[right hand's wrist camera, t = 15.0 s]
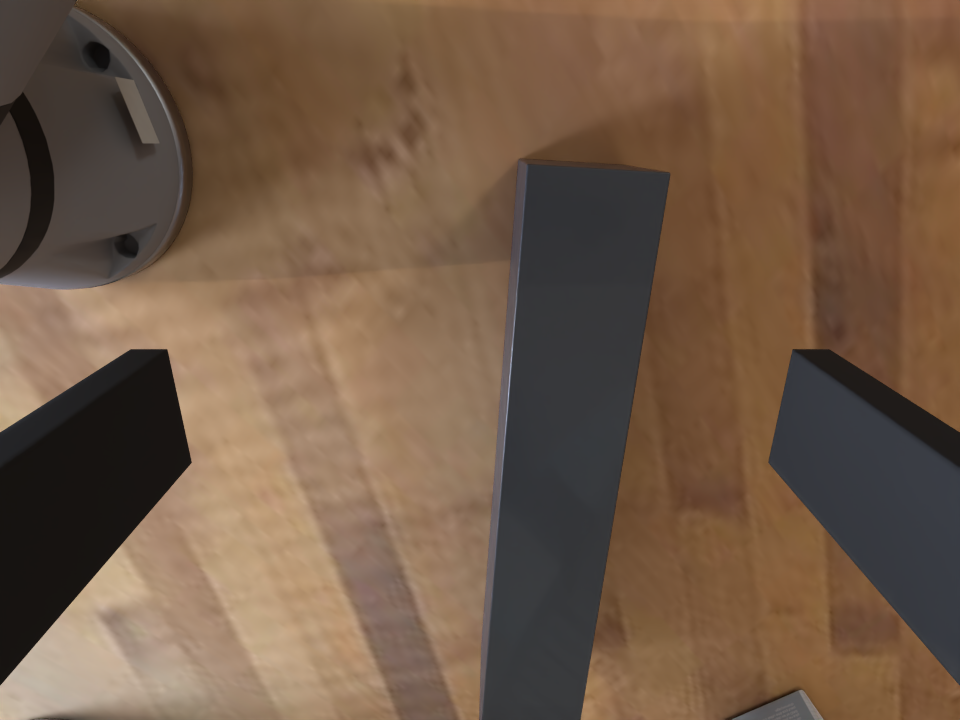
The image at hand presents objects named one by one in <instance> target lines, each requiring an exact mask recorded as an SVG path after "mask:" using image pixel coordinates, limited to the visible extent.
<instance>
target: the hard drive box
mask: <svg viewBox="0 0 960 720" xmlns="http://www.w3.org/2000/svg"><path fill="white" fill-rule="evenodd" d="M732 720H823V718H822V716H821V715H820V714H819V712H818V711H817V709H816V708H815V706H814V705H813V704H812V702H811V701H810V699H809V698H808V696H807V695H806V693H805V692H804V691H803V690H798V691H796V692H794V693H792V694H789V695H787V696H785V697H782V698H780V699H778V700H776V701H773V702H771V703H768V704H766V705H764V706H762V707H759V708H757V709H755V710H752V711H750V712H748V713H745V714H743V715H741V716H739V717H736V718H734V719H732Z"/></svg>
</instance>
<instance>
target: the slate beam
mask: <svg viewBox="0 0 960 720" xmlns="http://www.w3.org/2000/svg"><path fill="white" fill-rule="evenodd" d="M669 180H670V173H669V172H663V171H657V170H651V169H646V168H640V167H634V166H628V165H617V164H601V163H585V162H568V161H552V160H536V159H519V160H518V171H517V184H516V197H515V211H514V224H513V237H512V250H511V263H510V276H509V289H508V302H507V315H506V329H505V342H504V355H503V368H502V381H501V394H500V407H499V420H498V433H497V447H496V460H495V473H494V486H493V499H492V512H491V525H490V538H489V551H488V565H487V578H486V591H485V604H484V617H483V630H482V643H481V674H480V712H479V720H580V719H581V713H582V707H583V701H584V695H585V689H586V683H587V677H588V671H589V665H590V659H591V653H592V647H593V640H594V634H595V628H596V622H597V616H598V610H599V604H600V598H601V592H602V586H603V580H604V574H605V568H606V562H607V556H608V550H609V543H610V537H611V531H612V525H613V519H614V513H615V507H616V501H617V495H618V489H619V483H620V477H621V471H622V465H623V459H624V452H625V446H626V440H627V434H628V428H629V422H630V416H631V410H632V404H633V398H634V392H635V386H636V380H637V374H638V368H639V362H640V355H641V349H642V343H643V337H644V331H645V325H646V319H647V313H648V307H649V301H650V295H651V289H652V283H653V277H654V271H655V265H656V258H657V252H658V246H659V240H660V234H661V228H662V222H663V216H664V210H665V204H666V198H667V192H668V186H669Z"/></svg>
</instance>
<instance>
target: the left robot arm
mask: <svg viewBox="0 0 960 720" xmlns="http://www.w3.org/2000/svg"><path fill="white" fill-rule="evenodd" d="M34 720H68V719H57V718H43V719H34Z"/></svg>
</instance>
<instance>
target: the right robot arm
mask: <svg viewBox="0 0 960 720" xmlns="http://www.w3.org/2000/svg"><path fill="white" fill-rule="evenodd" d="M76 1H77V0H0V284H6V285H17V286H27V287H38V288H49V289H80V288H91V287H97V286H102V285H106V284H109V283H112V282H115V281H118V280H121V279H123V278H126V277H129V276H131V275H133V274H136V273H138V272H140V271H141V270H143V269H145V268H146V267H148V266H150V265H151V264H152V263H153V262H155V261H156V260H157V259H158V258H159V257H160V256H161V255H162V254H164V253H165V251H166V250H167V249H168V248H169V247H170V245H171V244H172V243H173V241H174V240H175V238H176V236H177V235H178V233H179V231H180V229H181V227H182V225H183V223H184V220H185V217H186V214H187V212H188V208H189V203H190V199H191V191H192V174H193V172H192V158H191V152H190V145H189V141H188V137H187V133H186V129H185V126H184V124H183V121H182V118H181V115H180V113H179V110H178V108H177V106H176V104H175V101H174V99H173V98H172V96H171V94H170V92H169V90H168V88H167V87H166V85H165V84H164V82H163V80H162V79H161V77H160V76H159V74H158V73H157V72H156V70H155V69H154V68H153V66H152V65H151V64H150V62H149V61H148V60H147V59H146V58H145V57H144V56H143V54H142V53H141V52H140V51H139V50H138V49H137V48H136V47H135V46H134V45H133V44H132V43H131V42H130V41H129V40H128V39H127V38H126V37H124V36H123V35H122V34H121V33H119V32H118V31H117V30H116V29H114V28H113V27H112V26H110V25H109V24H107V23H106V22H104V21H103V20H101V19H100V18H98V17H96V16H94V15H93V14H91V13H89V12H87V11H85V10H83V9H81V8H79V7H76V6H74V4H75V2H76ZM191 463H192V462H191V457H190V452H189V448H188V443H187V439H186V434H185V429H184V425H183V420H182V415H181V411H180V406H179V401H178V397H177V392H176V387H175V383H174V378H173V374H172V369H171V364H170V360H169V355H168V350H167V349H131V350H129V351H128V352H126V353H124V354H123V355H121V356H120V357H118V358H117V359H115V360H113V361H112V362H110V363H109V364H107V365H106V366H104V367H102V368H101V369H99V370H98V371H96V372H95V373H93V374H91V375H90V376H88V377H87V378H85V379H84V380H82V381H80V382H79V383H77V384H76V385H74V386H73V387H71V388H69V389H68V390H66V391H65V392H63V393H62V394H60V395H58V396H57V397H55V398H54V399H52V400H51V401H49V402H47V403H46V404H44V405H43V406H41V407H40V408H38V409H36V410H35V411H33V412H32V413H30V414H29V415H27V416H25V417H24V418H22V419H21V420H19V421H18V422H16V423H14V424H13V425H11V426H10V427H8V428H7V429H5V430H3V431H2V432H0V685H1V684H2V683H3V682H4V681H5V679H6V678H7V677H8V676H9V675H10V674H11V672H12V671H13V670H14V669H15V668H16V667H17V665H18V664H19V663H20V662H21V661H22V660H23V658H24V657H25V656H26V655H27V654H28V653H29V651H30V650H31V649H32V648H33V647H34V646H35V644H36V643H37V642H38V641H39V640H40V639H41V637H42V636H43V635H44V634H45V633H46V632H47V630H48V629H49V628H50V627H51V626H52V625H53V623H54V622H55V621H56V620H57V619H58V618H59V616H60V615H61V614H62V613H63V612H64V611H65V610H66V608H67V607H68V606H69V605H70V604H71V603H72V601H73V600H74V599H75V598H76V597H77V596H78V594H79V593H80V592H81V591H82V590H83V589H84V587H85V586H86V585H87V584H88V583H89V582H90V580H91V579H92V578H93V577H94V576H95V575H96V573H97V572H98V571H99V570H100V569H101V568H102V566H103V565H104V564H105V563H106V562H107V561H108V559H109V558H110V557H111V556H112V555H113V554H114V552H115V551H116V550H117V549H118V548H119V547H120V545H121V544H122V543H123V542H124V541H125V540H126V538H127V537H128V536H129V535H130V534H131V533H132V532H133V530H134V529H135V528H136V527H137V526H138V525H139V523H140V522H141V521H142V520H143V519H144V518H145V516H146V515H147V514H148V513H149V512H150V511H151V509H152V508H153V507H154V506H155V505H156V504H157V502H158V501H159V500H160V499H161V498H162V497H163V495H164V494H165V493H166V492H167V491H168V490H169V488H170V487H171V486H172V485H173V484H174V483H175V481H176V480H177V479H178V478H179V477H180V476H181V474H182V473H183V472H184V471H185V470H186V469H187V467H188V466H189V465H190V464H191ZM768 463H769V464H770V465H771V466H772V467H773V469H774V470H775V471H776V472H777V473H778V474H779V476H780V477H781V478H782V479H783V480H784V481H785V483H786V484H787V485H788V486H789V487H790V488H791V490H792V491H793V492H794V493H795V494H796V495H797V497H798V498H799V499H800V500H801V501H802V502H803V504H804V505H805V506H806V507H807V508H808V509H809V511H810V512H811V513H812V514H813V515H814V516H815V518H816V519H817V520H818V521H819V522H820V523H821V525H822V526H823V527H824V528H825V529H826V530H827V532H828V533H829V534H830V535H831V536H832V537H833V539H834V540H835V541H836V542H837V543H838V544H839V545H840V547H841V548H842V549H843V550H844V551H845V552H846V554H847V555H848V556H849V557H850V558H851V559H852V561H853V562H854V563H855V564H856V565H857V566H858V568H859V569H860V570H861V571H862V572H863V573H864V575H865V576H866V577H867V578H868V579H869V580H870V582H871V583H872V584H873V585H874V586H875V587H876V589H877V590H878V591H879V592H880V593H881V594H882V596H883V597H884V598H885V599H886V600H887V601H888V603H889V604H890V605H891V606H892V607H893V608H894V610H895V611H896V612H897V613H898V614H899V615H900V616H901V618H902V619H903V620H904V621H905V622H906V623H907V625H908V626H909V627H910V628H911V629H912V630H913V632H914V633H915V634H916V635H917V636H918V637H919V639H920V640H921V641H922V642H923V643H924V644H925V646H926V647H927V648H928V649H929V650H930V651H931V653H932V654H933V655H934V656H935V657H936V658H937V660H938V661H939V662H940V663H941V664H942V665H943V667H944V668H945V669H946V670H947V671H948V672H949V674H950V675H951V676H952V677H953V678H954V679H955V681H956V682H957V683H958V684H959V685H960V432H958V431H957V430H955V429H953V428H952V427H950V426H949V425H947V424H946V423H944V422H942V421H941V420H939V419H938V418H936V417H935V416H933V415H931V414H930V413H928V412H927V411H925V410H924V409H922V408H920V407H919V406H917V405H916V404H914V403H913V402H911V401H909V400H908V399H906V398H905V397H903V396H902V395H900V394H898V393H897V392H895V391H894V390H892V389H891V388H889V387H887V386H886V385H884V384H883V383H881V382H880V381H878V380H876V379H875V378H873V377H872V376H870V375H869V374H867V373H865V372H864V371H862V370H861V369H859V368H858V367H856V366H854V365H853V364H851V363H850V362H848V361H847V360H845V359H843V358H842V357H840V356H839V355H837V354H836V353H834V352H832V351H831V350H829V349H793V350H792V355H791V360H790V364H789V369H788V374H787V378H786V383H785V387H784V392H783V397H782V401H781V406H780V411H779V415H778V420H777V425H776V429H775V434H774V439H773V443H772V448H771V452H770V457H769V462H768Z"/></svg>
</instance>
